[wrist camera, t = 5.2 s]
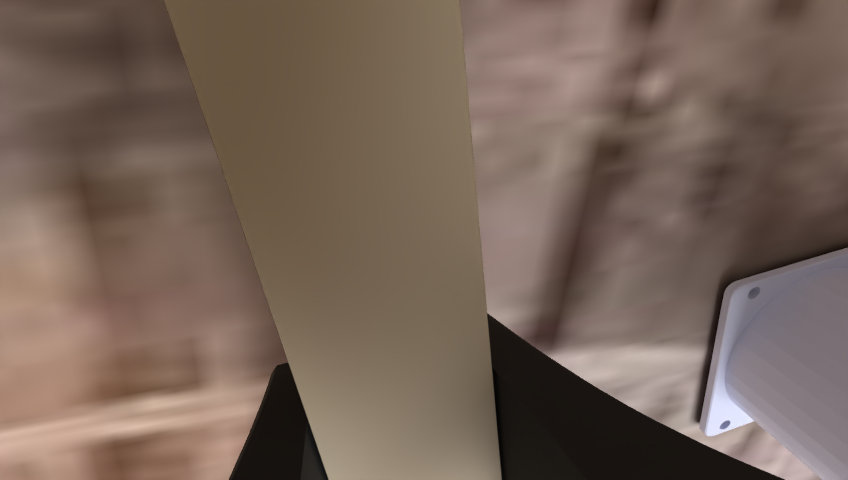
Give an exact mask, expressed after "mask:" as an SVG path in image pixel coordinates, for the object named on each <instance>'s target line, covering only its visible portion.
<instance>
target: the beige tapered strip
mask: <svg viewBox="0 0 848 480" xmlns="http://www.w3.org/2000/svg"><path fill="white" fill-rule="evenodd" d="M164 2H165V5H166V8H167V11H168V14H169V17H170V20H171V23H172V25H173V28H174V31H175V34H176V37H177V40H178V43H179V46H180V49H181V52H182V55H183V57H184V60H185V63H186V66H187V69H188V72H189V75H190V78H191V81H192V84H193V86H194V89H195V92H196V95H197V98H198V101H199V104H200V107H201V110H202V113H203V116H204V118H205V121H206V124H207V127H208V130H209V133H210V136H211V139H212V142H213V145H214V148H215V150H216V153H217V156H218V159H219V162H220V165H221V168H222V171H223V174H224V177H225V180H226V182H227V185H228V188H229V191H230V194H231V197H232V200H233V203H234V206H235V209H236V212H237V214H238V217H239V220H240V223H241V226H242V229H243V232H244V235H245V238H246V241H247V244H248V246H249V249H250V252H251V255H252V258H253V261H254V264H255V267H256V270H257V273H258V275H259V278H260V281H261V284H262V287H263V290H264V293H265V296H266V299H267V302H268V305H269V307H270V310H271V313H272V316H273V319H274V322H275V325H276V328H277V331H278V334H279V337H280V339H281V342H282V345H283V348H284V351H285V354H286V357H287V360H288V363H289V366H290V369H291V371H292V374H293V377H294V380H295V383H296V386H297V389H298V392H299V395H300V398H301V401H302V403H303V406H304V409H305V412H306V415H307V418H308V421H309V424H310V427H311V430H312V432H313V435H314V438H315V441H316V444H317V447H318V450H319V453H320V456H321V459H322V462H323V464H324V467H325V470H326V473H327V476H328V479H329V480H502V478H501V466H500V455H499V443H498V432H497V421H496V409H495V398H494V386H493V375H492V364H491V352H490V341H489V329H488V318H487V307H486V295H485V284H484V272H483V261H482V250H481V238H480V227H479V215H478V204H477V193H476V181H475V170H474V158H473V147H472V136H471V124H470V113H469V101H468V90H467V78H466V67H465V56H464V44H463V33H462V21H461V10H460V0H164Z"/></svg>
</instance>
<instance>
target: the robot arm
mask: <svg viewBox="0 0 848 480" xmlns="http://www.w3.org/2000/svg"><path fill="white" fill-rule="evenodd" d="M487 318H488V329H489V341H490V352H491V364H492V375H493V386H494V398H495V409H496V421H497V432H498V443H499V455H500V466H501V478H502V480H784V479H782V478H780V477H777V476H775V475H772V474H770V473H768V472H765V471H763V470H760V469H758V468H756V467H753V466H751V465H749V464H746V463H744V462H741V461H739V460H737V459H734V458H732V457H730V456H728V455H726V454H723V453H721V452H719V451H717V450H715V449H712V448H710V447H708V446H706V445H704V444H702V443H700V442H698V441H696V440H693V439H691V438H689V437H687V436H685V435H683V434H681V433H679V432H677V431H675V430H673V429H671V428H669V427H667V426H665V425H663V424H661V423H659V422H657V421H655V420H653V419H651V418H649V417H647V416H646V415H644V414H642V413H640V412H638V411H636V410H635V409H633V408H631V407H629V406H627V405H626V404H624V403H622V402H620V401H619V400H617V399H615V398H614V397H612V396H610V395H608V394H607V393H605V392H603V391H602V390H600V389H598V388H597V387H595V386H593V385H592V384H590V383H588V382H587V381H585V380H584V379H582V378H580V377H579V376H577V375H576V374H574V373H573V372H571V371H570V370H568V369H566V368H565V367H563V366H562V365H560V364H559V363H557V362H556V361H554V360H553V359H551V358H550V357H548V356H547V355H545V354H544V353H542V352H541V351H539V350H538V349H536V348H535V347H533V346H532V345H531V344H529V343H528V342H526V341H525V340H523V339H522V338H521V337H519V336H518V335H516V334H515V333H514V332H512V331H511V330H510V329H508V328H507V327H505V326H504V325H503V324H501V323H500V322H499V321H497V320H496V319H494V318H493V317H492V316H490V315H489V314H487ZM753 421H755V422H756V423H757V424H758V425H760V426H761V427H762V428H763V429H764V430H765V431H766V432H768V433H769V434H770V435H771V436H772V437H773V438H775V439H776V440H777V441H778V442H779V443H780V444H781V445H783V446H784V447H785V448H786V449H787V450H788V451H789V452H791V453H792V454H793V455H794V456H795V457H796V458H798V459H799V460H800V461H801V462H802V463H803V464H804V465H806V466H807V467H808V468H809V469H810V470H811V471H812V472H814V473H815V474H816V475H817V476H818V477H819V478H821V479H822V480H848V248H844V249H841V250H838V251H834V252H831V253H828V254H824V255H821V256H818V257H814V258H811V259H807V260H804V261H801V262H797V263H794V264H791V265H787V266H784V267H781V268H777V269H774V270H771V271H767V272H764V273H761V274H757V275H754V276H751V277H747V278H744V279H741V280H737V281H735V282H733V283H731V284H730V285H729V286H728V287H727V288H726V290H725V292H724V296H723V301H722V306H721V312H720V317H719V323H718V328H717V334H716V339H715V344H714V350H713V355H712V361H711V366H710V371H709V377H708V382H707V388H706V393H705V399H704V404H703V409H702V415H701V420H700V429H701V431H702V432H703V433H704V434H705V435H706V436H714V435H717V434H720V433H722V432H725V431H728V430H731V429H733V428H736V427H739V426H742V425H745V424H747V423H750V422H753ZM229 480H329V479H328V476H327V473H326V470H325V467H324V464H323V462H322V459H321V456H320V453H319V450H318V447H317V444H316V441H315V438H314V435H313V432H312V430H311V427H310V424H309V421H308V418H307V415H306V412H305V409H304V406H303V403H302V401H301V398H300V395H299V392H298V389H297V386H296V383H295V380H294V377H293V374H292V371H291V369H290V366H289V363H285V364H281V365H277V366H276V368H275V369H274V371H273V372H272V374H271V377H270V380H269V383H268V386H267V389H266V392H265V395H264V397H263V400H262V403H261V405H260V408H259V410H258V413H257V415H256V418H255V420H254V423H253V425H252V428H251V430H250V433H249V435H248V437H247V440H246V442H245V444H244V446H243V449H242V451H241V453H240V455H239V458H238V460H237V462H236V464H235V467H234V469H233V471H232V474H231V476H230V478H229Z"/></svg>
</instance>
